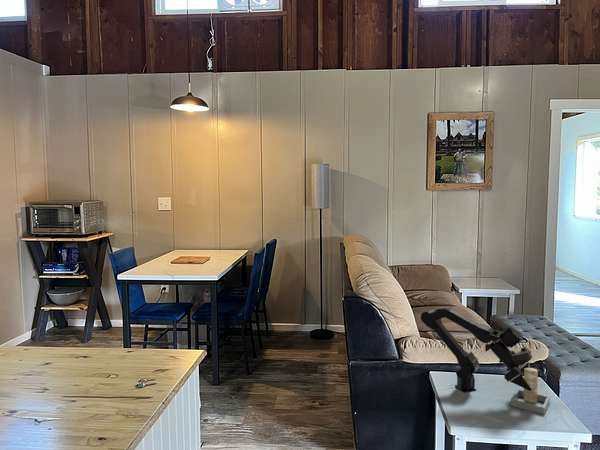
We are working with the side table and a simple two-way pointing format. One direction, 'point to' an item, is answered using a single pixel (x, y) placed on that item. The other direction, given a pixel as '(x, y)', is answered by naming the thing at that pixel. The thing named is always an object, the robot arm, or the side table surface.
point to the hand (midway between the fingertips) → (533, 386)
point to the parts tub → (527, 405)
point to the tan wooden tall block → (531, 385)
